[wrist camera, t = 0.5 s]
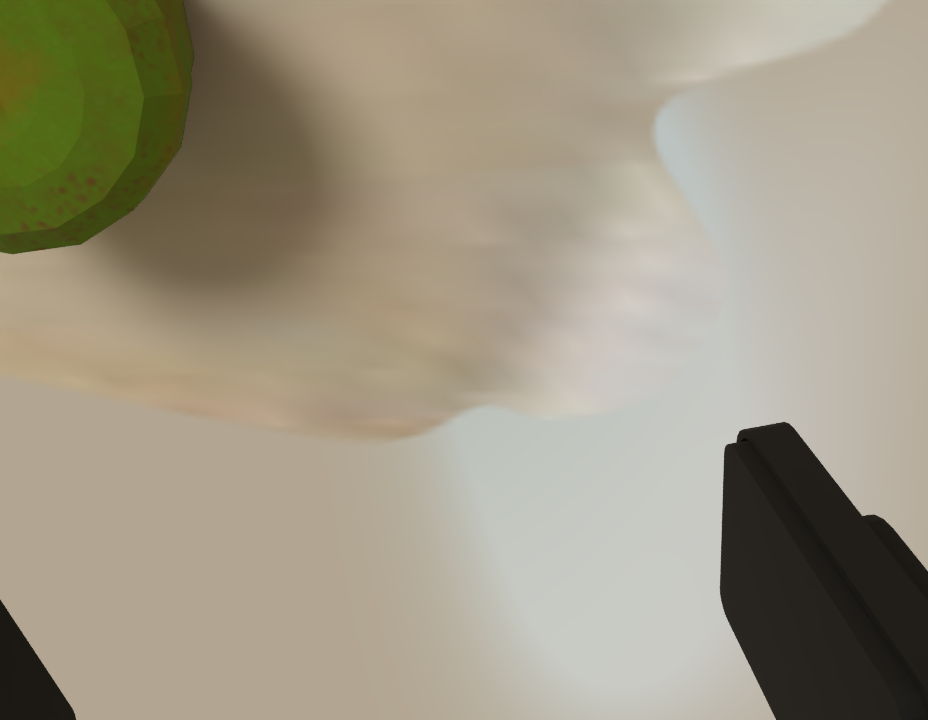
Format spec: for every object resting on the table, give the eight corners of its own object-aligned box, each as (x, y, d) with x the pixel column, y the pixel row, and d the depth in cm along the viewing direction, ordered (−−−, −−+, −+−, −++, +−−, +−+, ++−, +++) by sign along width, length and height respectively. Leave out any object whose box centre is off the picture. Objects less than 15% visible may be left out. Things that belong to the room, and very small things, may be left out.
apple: (47, 220, 37) (-65, 339, 27) (-174, -42, 31) (-419, -8, 21) (278, 92, 35) (245, 171, 26) (91, -215, 29) (-45, -262, 19)
